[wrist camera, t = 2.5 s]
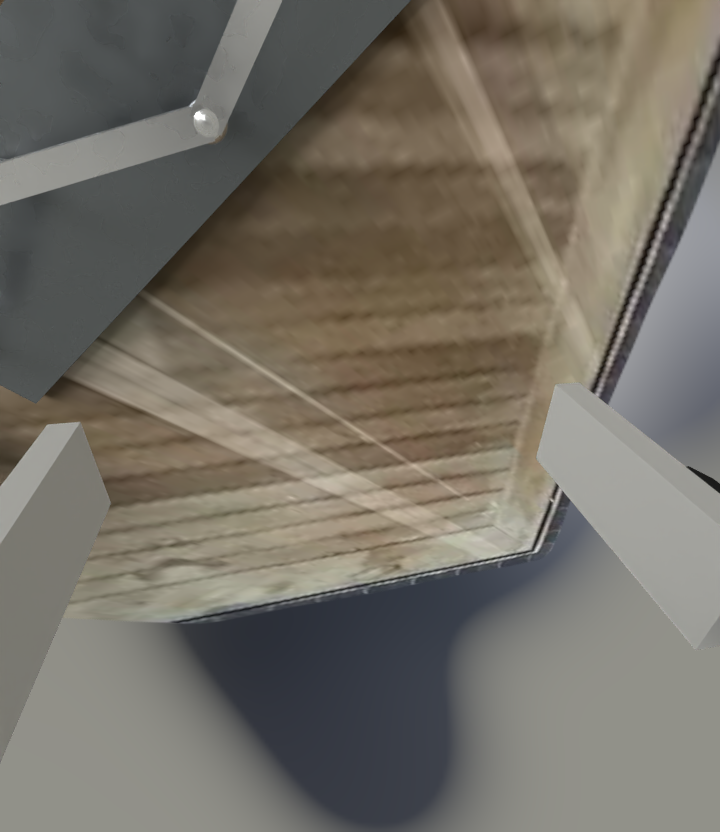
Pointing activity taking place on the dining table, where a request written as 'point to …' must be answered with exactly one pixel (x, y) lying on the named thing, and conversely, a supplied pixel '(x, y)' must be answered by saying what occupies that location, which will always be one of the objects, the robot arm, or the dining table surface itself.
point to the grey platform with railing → (138, 144)
